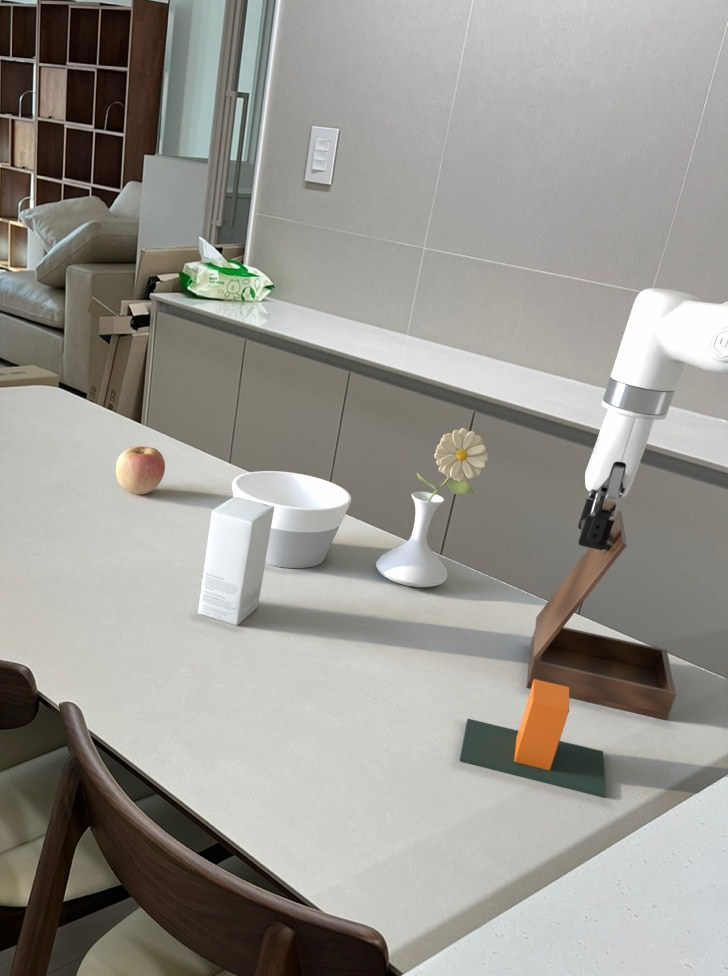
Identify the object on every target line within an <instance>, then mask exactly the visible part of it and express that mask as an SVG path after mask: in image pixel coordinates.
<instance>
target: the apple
mask: <svg viewBox="0 0 728 976" xmlns="http://www.w3.org/2000/svg"><path fill="white" fill-rule="evenodd" d="M164 458H165V457H164V456H163V455H162V453H161V452H160V451H159V450H158V449H156V448H155V447H151V446H150V447H149V446H142V445H138V446H137V445H136V446H132V447H128V448H126V449H125V450H124V451H123V452H121V454H120V455H119V456H118V457H117V461H116V462H115V463H116V465H115V475H116V479H117V481H118V483H119V485H120V486H121V487H122V488H124V489H125V490H126V491H127V492H129V493H131V494H134V495H146V494H149V493H151V492H152V491H154V490H155V489H156V488H157V487H158V486H159V485H160V483H161V481H162V480H163V478H164V475H165V472H166V462H165V459H164Z"/></svg>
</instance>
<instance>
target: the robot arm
mask: <svg viewBox="0 0 728 976" xmlns="http://www.w3.org/2000/svg"><path fill="white" fill-rule="evenodd" d="M618 348H619V349H618V352H617V356H616V358H615V361H614V363H613V368H612V370H611V374H610V377H609V379H608V382H607V387H606V389H605V391H604V395H603V398H602V401H601V406H602V407H604V408H605V409H607V412H606V414H605V417H604V419H603V422H602V424H601V427H600V430H599V433H598V435H597V439H596V441H595V444H594V446H593V450H592V452H591V456H590V458H589V462H588V464H587V467H586V469H585V473H584V481H585V484H584V485H585V489H586V490H587V492H589V495H588V498H586V500H585V503H584V507H583V509H582V511H581V515H580V518H579V521H578V525H577V527H578V529H579V530H581V520H582V519H583V518H585V517H586V520H585V523H584V526H583V529H582V532H581V531H580V536H579V539H578V545H579V546H581V547H585V548H588V549H589V548H594V549H598V550H604V549H605V546H606V543H607V540H608V537H609V534H610V531H611V529H612V526H613V523H614V516H615V513H616V512H617V511H618V506H619V503H620V500H621V499H624V498H626V497H627V496H628V495H629V492H630V489H631V488H632V486H633V483H634V480H635V477H636V474H637V472H638V469H639V466H640V463H641V461H642V458H643V455H644V453H645V449H646V446H647V443H648V440H649V438H650V434H651V433H652V429H653V425H654V422H655V420H656V421H659V420H661V421H662V420H664V419H666V417H667V414H668V412H669V409H670V408H671V407H670V406H671V404H672V401H673V398H674V396H675V392H676V389H677V386H678V384H679V381H680V378H681V375H682V373H683V370H684V368H685V364H687V365H691V366H693V367H696V368H698V369H701V370H704V371H706V372H709V373H713V374H717V375H724V376H725V375H726V376H727V375H728V300H727V301H725V302H723V303H714V302H704V301H702V300H701V299H700V298H699V297H697V296H696V295H693V294H690V293H687V292H683V291H678V290H674V289H667V288H660V287H659V288H657V287H650V288H649V287H648V288H645V289H643V290H641V291H640V292H639V293H638V295H637V296H636V297H635V300H634V303H633V304H632V308H631V311H630V315H629V317H628V321H627V324H626V326H625V330H624V333H623V336H622V339H621V342H620V345H619V347H618Z"/></svg>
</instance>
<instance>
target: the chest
mask: <svg viewBox="0 0 728 976" xmlns="http://www.w3.org/2000/svg"><path fill="white" fill-rule="evenodd" d="M534 640H535V629H534V631H533V634H532V637H531V640H530V644H529V654H528V655H529V657H528V668H527V678H526V679H527V680H526V688H527V689H530V690H531V687H532V684H533V681H534V679H536V680H540V681H545V682H549V683H553V684H558V685H562V686H566V687H569V699H574V700H578V701H583V702H587V703H591V704H595V705H599V706H604V707H608V708H613V709H616V710H621V711H625V712H629V713H633V714H637V715H638V714H639V715H643V716H646V717H652V718H656V719H660V720H664V721H667V720H668V717H669V715H670V713H671V709H672V706H673V704H674V701H675V698H676V696H677V692H676V689H675V683H674V677H673V673H672V667H671V663H670V658H669V653H668V649H666V648H663V647H662V648H660V647H657V646H653V645H647V644H643V643H639V642H634V641H629V640H624V639H621V638H615V637H611V636H606V635H601V634H597V633H592V632H589V631H583V630H579V629H574V628H569V627H566V626H564V627H563V628H562V629H561V630H560V632H559V633H558V634H557V636H556V637H555V638H554V639H553V641H552V642H551V643H550V645H549V646H548V647H547V648H546V650H545V651H544V652H543V653H542V655H541V656H540V657H539V659H538V660H535V659H533V652H534Z"/></svg>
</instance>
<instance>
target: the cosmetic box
mask: <svg viewBox="0 0 728 976" xmlns="http://www.w3.org/2000/svg"><path fill="white" fill-rule="evenodd" d="M273 513H274V506H272V505H268V504H264V503H260V502H256V501H253V500H249V499H245V498H242V497H237V496H234V495H233V497H231V498H229V499H228V500H227V501H225V502H223V503H222V504H220V505H219V506H217V507H216V508H214V509H213V510H211V516H210V523H209V529H208V530H209V531H208V538H207V544H206V545H207V546H206V551H205V559H204V567H203V568H204V569H203V574H202V580H201V589H200V596H199V603H198V609H197V610H198V611H197V614H198V615H200V616H203V617H206V618H210V619H214V620H217V621H220V622H224V623H226V624H230V625H233V626H239V625H240V624H241V623H242V622H243V621H244V620H245V619H246V618H248V617H249V615H251V614H252V613H253V612H254V611H255V610H257V608H259V605H260V604H259V603H260V598H261V597H260V596H261V590H262V584H263V579H264V572H265V566H266V564H265V561H266V555H267V549H268V543H269V537H270V531H271V525H272V519H273Z"/></svg>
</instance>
